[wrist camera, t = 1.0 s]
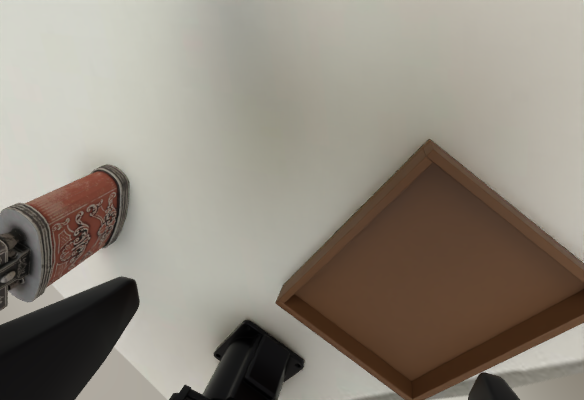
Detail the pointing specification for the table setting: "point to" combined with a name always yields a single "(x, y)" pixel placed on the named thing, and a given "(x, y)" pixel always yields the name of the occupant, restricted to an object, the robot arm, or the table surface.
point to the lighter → (59, 231)
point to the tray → (436, 280)
